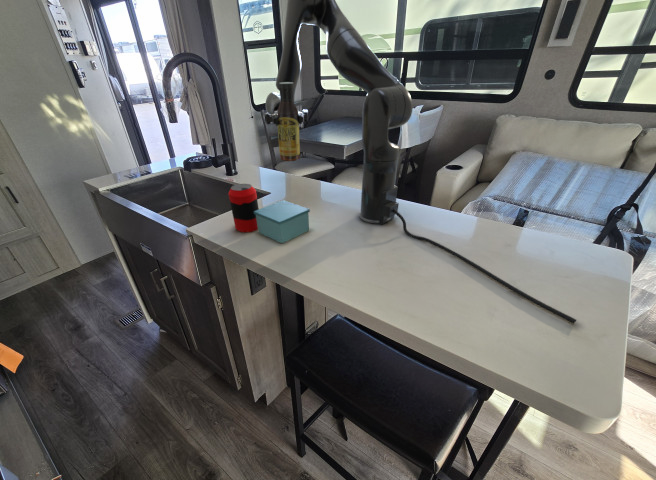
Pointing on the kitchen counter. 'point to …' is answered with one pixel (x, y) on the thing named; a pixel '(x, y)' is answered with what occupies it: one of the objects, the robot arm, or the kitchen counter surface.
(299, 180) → the kitchen counter surface
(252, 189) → the soda can
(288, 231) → the storage box
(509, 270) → the kitchen counter surface
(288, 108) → the sauce bottle
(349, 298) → the kitchen counter surface
